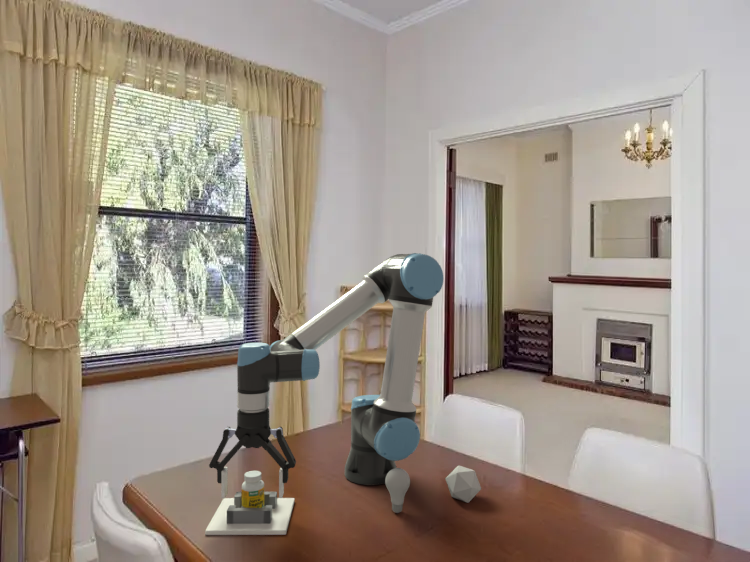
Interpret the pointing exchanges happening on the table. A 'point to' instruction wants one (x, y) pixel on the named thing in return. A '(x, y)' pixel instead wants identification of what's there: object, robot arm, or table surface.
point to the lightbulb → (397, 487)
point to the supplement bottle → (253, 490)
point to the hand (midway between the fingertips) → (252, 495)
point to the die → (463, 483)
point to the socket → (251, 517)
